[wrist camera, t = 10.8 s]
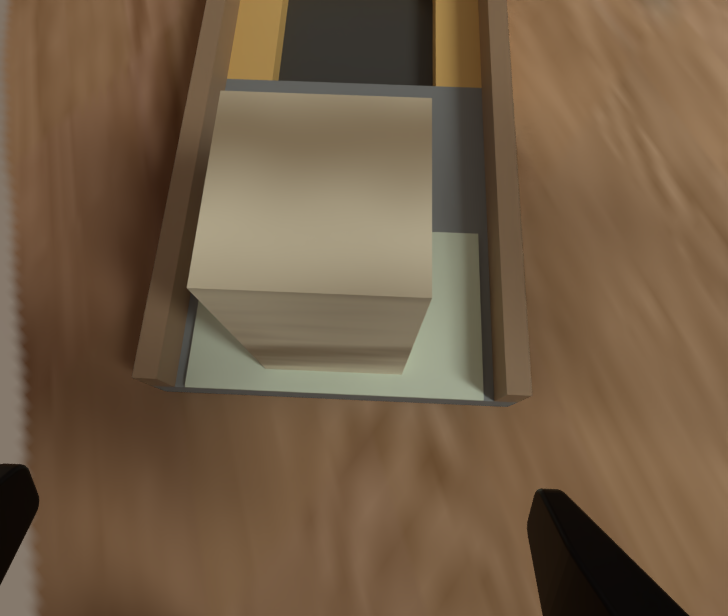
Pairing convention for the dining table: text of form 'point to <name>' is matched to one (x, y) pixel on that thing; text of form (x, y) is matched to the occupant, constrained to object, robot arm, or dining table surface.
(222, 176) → the maple block
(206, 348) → the trough deck
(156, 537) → the dining table surface
